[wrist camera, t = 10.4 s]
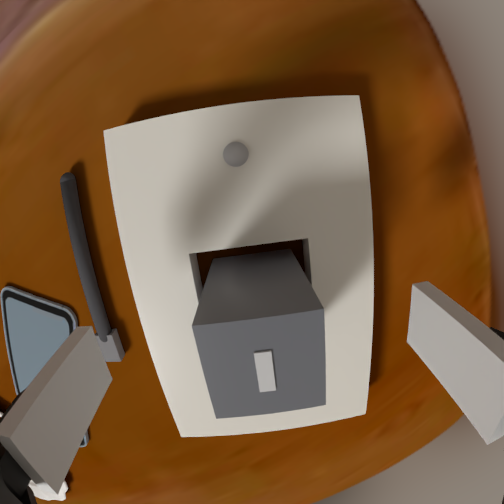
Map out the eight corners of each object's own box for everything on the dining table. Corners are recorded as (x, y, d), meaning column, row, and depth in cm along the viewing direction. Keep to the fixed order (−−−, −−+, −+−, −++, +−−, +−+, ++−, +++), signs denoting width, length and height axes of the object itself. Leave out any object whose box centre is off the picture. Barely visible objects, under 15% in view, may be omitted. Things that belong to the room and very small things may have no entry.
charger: (213, 258, 18) (191, 327, 10) (290, 248, 18) (324, 309, 10) (225, 326, 19) (216, 420, 11) (296, 317, 19) (326, 405, 11)
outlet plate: (117, 134, 16) (102, 130, 14) (346, 102, 16) (359, 94, 14) (185, 418, 21) (181, 438, 19) (357, 396, 21) (366, 415, 19)
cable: (61, 174, 16) (53, 175, 15) (80, 169, 16) (71, 170, 15) (107, 354, 19) (102, 362, 19) (125, 354, 19) (120, 362, 19)
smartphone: (76, 311, 18) (88, 450, 22) (82, 306, 19) (91, 443, 23) (-1, 284, 18) (24, 422, 21) (6, 280, 19) (28, 416, 22)
